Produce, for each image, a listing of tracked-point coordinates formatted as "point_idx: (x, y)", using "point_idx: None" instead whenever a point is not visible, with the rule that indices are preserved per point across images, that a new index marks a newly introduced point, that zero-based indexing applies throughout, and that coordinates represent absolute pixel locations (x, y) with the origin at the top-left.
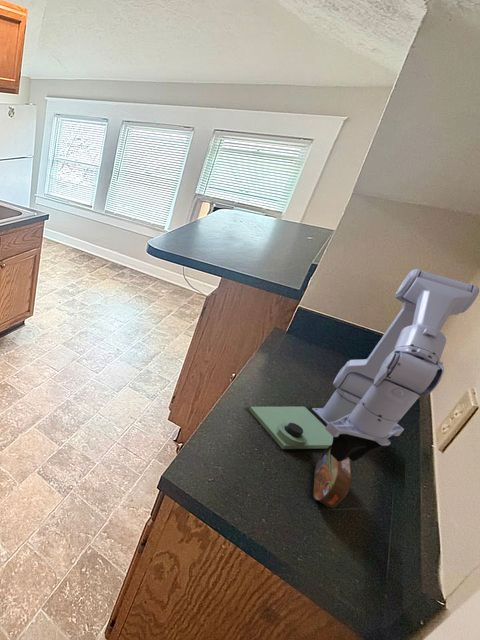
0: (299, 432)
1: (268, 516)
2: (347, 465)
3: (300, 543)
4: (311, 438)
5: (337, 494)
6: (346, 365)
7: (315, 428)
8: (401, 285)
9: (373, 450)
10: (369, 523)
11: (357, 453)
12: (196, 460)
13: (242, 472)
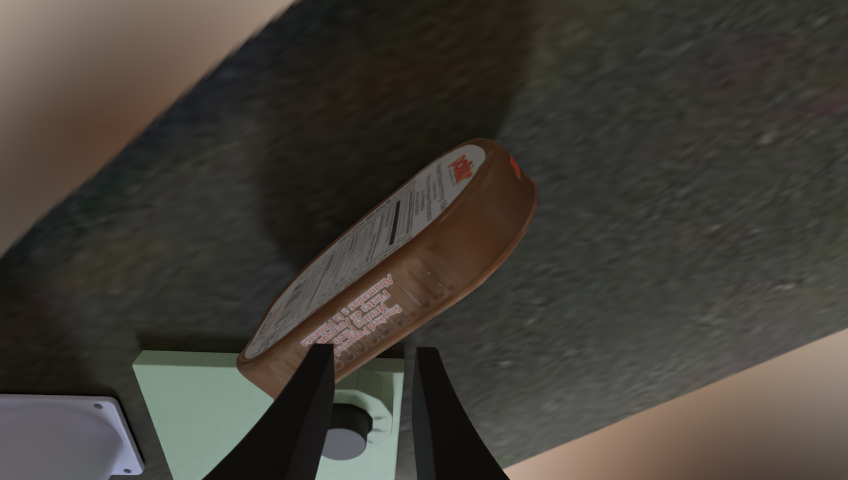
0: (344, 429)
1: (731, 147)
2: (350, 316)
3: (727, 28)
4: (260, 390)
5: (515, 179)
6: None
7: (205, 420)
8: None
9: (236, 459)
10: (307, 63)
11: (316, 403)
12: (758, 342)
13: (645, 298)
